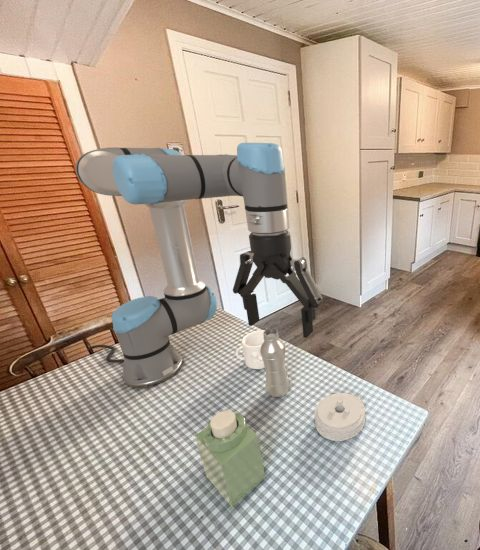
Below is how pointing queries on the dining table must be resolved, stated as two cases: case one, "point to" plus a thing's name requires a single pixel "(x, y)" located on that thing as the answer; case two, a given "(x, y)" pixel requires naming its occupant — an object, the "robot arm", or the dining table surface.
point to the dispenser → (232, 461)
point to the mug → (252, 349)
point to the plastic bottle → (274, 364)
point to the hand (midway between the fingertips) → (280, 328)
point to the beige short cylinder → (223, 424)
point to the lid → (339, 416)
